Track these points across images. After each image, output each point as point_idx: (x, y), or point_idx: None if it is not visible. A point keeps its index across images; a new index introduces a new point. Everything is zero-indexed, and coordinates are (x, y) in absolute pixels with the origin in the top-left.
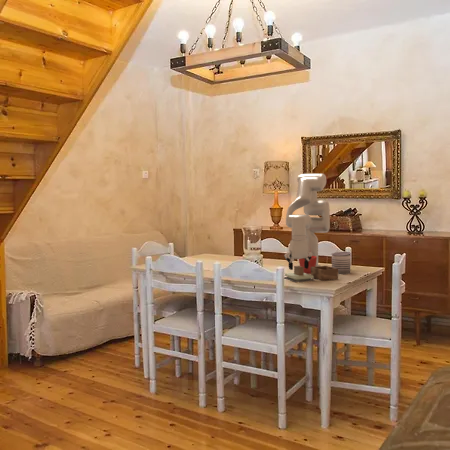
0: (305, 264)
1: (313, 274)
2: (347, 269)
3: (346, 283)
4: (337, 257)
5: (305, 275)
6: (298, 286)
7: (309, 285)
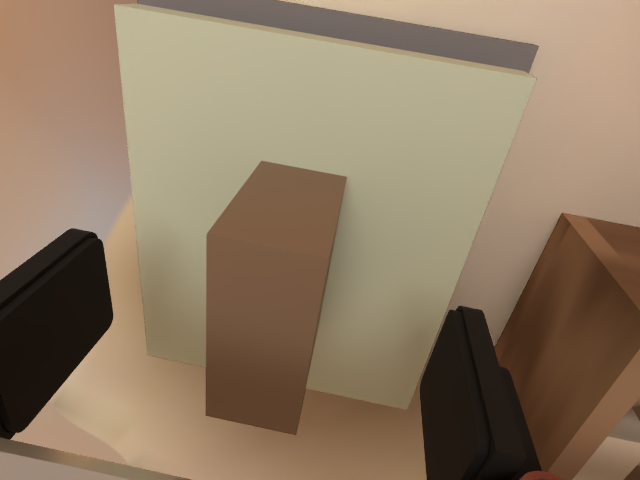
0: (447, 406)
1: (550, 310)
2: None
3: None
4: None
5: (332, 346)
6: (110, 434)
7: (213, 457)
